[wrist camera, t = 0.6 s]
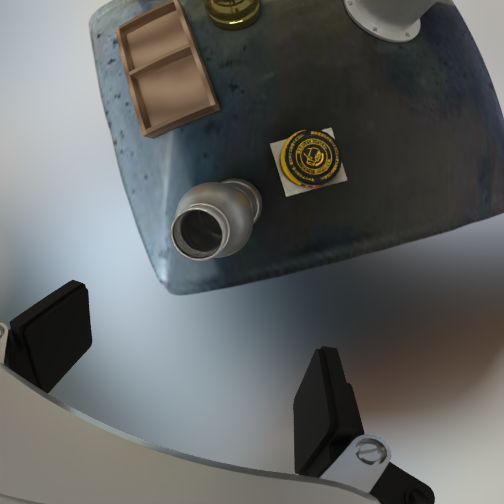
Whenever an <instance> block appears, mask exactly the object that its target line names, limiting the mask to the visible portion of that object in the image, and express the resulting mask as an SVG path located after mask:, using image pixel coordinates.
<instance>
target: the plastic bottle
mask: <svg viewBox="0 0 504 504" xmlns="http://www.w3.org/2000/svg"><path fill="white" fill-rule="evenodd" d="M262 206H263V205H262V198H261V195H260V193H259V191H258V190H257V189H256V187H255V186H253V185H252V184H251V183H249V182H248V181H245V180H243V179H237V178H234V179H227V180H224V181H222V182H220V183H218V182H207V183H203V184H199V185H197V186H195V187H193V188H191V189H190V190H189V191H188V192H186V194H185V195H184V196H183V197H182V199H181V200H180V202H179V204H178V207H177V210H176V214H175V219H174V221H173V223H172V226H171V239H172V242H173V244H174V246H175V248H176V249H177V250H178V252H179V253H181V254H182V255H183V256H185V257H186V258H188V259H191V260H196V261H203V260H208V259H210V258H219V257H225V256H229V255H231V254H233V253H235V252H237V251H238V250H240V249H241V248H242V247H243V246H244V245H245V244H246V242H247V241H248V239H249V238H250V235H251V232H252V229H253V224H254V223H255V222H256V221H257V220H258V218H259V217H260V215H261V212H262Z"/></svg>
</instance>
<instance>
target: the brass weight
mask: <svg viewBox="0 0 504 504" xmlns="http://www.w3.org/2000/svg"><path fill="white" fill-rule="evenodd" d="M204 6H205V9H206V10H207V12H208V15H209V17H210V18H211V20H212V22H213V23H214V24H215V25H216V26H218V27H220V28H222V29H227V30H238V29H242V28H245V27H248V26H250V25H251V24H253V23H254V22H255V21H256V20H257V19H258V17H259V15H260V1H259V0H204Z"/></svg>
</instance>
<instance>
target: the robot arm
mask: <svg viewBox="0 0 504 504" xmlns="http://www.w3.org/2000/svg"><path fill="white" fill-rule="evenodd" d="M437 1H438V0H344V6H345V9H346V11H347V13H348V15H349V16H350V17H351V19H352V20H353V21H354V22H355V23H356V24H357V25H358V26H359V27H360V28H362V29H363V30H364V31H366V32H367V33H369V34H371V35H373V36H375V37H377V38H379V39H381V40H385V41H388V42H394V43H403V42H408V41H410V40H412V39H413V38H414V37H416V35H417V34H418V33H419V30H420V24H421V23H420V17H421V16H422V15H423V14H424V13H425V12H426V11H427V10H428V9H429V8H430V7H432V6H433V5H434V4H435V3H436V2H437ZM10 326H11V329H10V330H8V328H7V326H6V325H5V324H3V323H0V504H434V502H435V497H434V493H433V491H432V489H431V488H430V487H429V486H428V485H426V484H425V483H423V482H421V481H420V480H418V479H416V478H415V477H413V476H411V475H410V474H408V473H406V472H405V471H403V470H402V469H400V468H399V467H397V466H395V465H394V464H392V463H391V462H389V461H390V459H391V450H390V448H389V446H388V445H387V443H386V442H385V441H384V440H382V439H381V438H379V437H376V436H374V435H365V434H364V430H363V426H362V422H361V418H360V414H359V410H358V407H357V403H356V399H355V396H354V392H353V388H352V386H351V384H350V383H347V382H346V379H345V375H344V372H343V368H342V365H341V361H340V357H339V353H338V350H337V349H336V348H331V347H325V346H322V347H321V349H316V350H315V352H314V354H313V357H312V359H311V362H310V364H309V366H308V369H307V371H306V373H305V376H304V378H303V381H302V383H301V385H300V387H299V389H298V391H297V394H296V396H295V399H294V404H293V410H294V454H295V455H294V457H295V473H297V474H299V475H294V474H287V473H279V472H272V471H264V470H258V469H252V468H246V467H240V466H236V465H231V464H226V463H221V462H216V461H212V460H208V459H204V458H200V457H196V456H192V455H189V454H185V453H181V452H178V451H175V450H172V449H169V448H165V447H162V446H159V445H157V444H154V443H151V442H148V441H145V440H142V439H140V438H137V437H135V436H132V435H129V434H127V433H124V432H122V431H120V430H117V429H115V428H113V427H110V426H108V425H106V424H104V423H102V422H99V421H97V420H95V419H93V418H91V417H89V416H87V415H85V414H83V413H81V412H79V411H77V410H75V409H74V408H72V407H70V406H68V405H66V404H64V403H62V402H61V401H59V400H57V399H56V398H54V397H52V396H51V395H49V394H47V393H49V392H50V391H51V390H52V389H53V387H54V386H55V385H56V384H57V383H58V382H59V381H60V380H61V378H62V377H63V376H64V375H65V374H66V373H67V372H68V371H69V370H70V369H71V367H72V366H73V365H74V364H75V363H76V362H77V361H78V360H79V359H80V358H81V356H83V354H84V353H85V352H86V351H87V350H88V349H89V348H90V347H91V344H92V334H91V324H90V313H89V297H88V290H87V288H86V286H85V284H83V283H81V282H78V281H75V280H72V281H70V282H68V283H66V284H65V285H63V286H62V287H60V288H59V289H57V290H56V291H54V292H52V293H51V294H49V295H48V296H46V297H45V298H43V299H42V300H40V301H39V302H37V303H36V304H34V305H33V306H32V307H30V308H29V309H27V310H26V311H24V312H23V313H21V314H20V315H19V316H17V317H16V318H14V319H13V320H12V321H10Z"/></svg>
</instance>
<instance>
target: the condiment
mask: <svg viewBox="0 0 504 504" xmlns="http://www.w3.org/2000/svg"><path fill="white" fill-rule="evenodd" d="M270 146H271V149H272V153H273V156H274V159H275V162H276V165H277V168H278V171H279V175H280V178H281V181H282V184H283V187H284V191H285V194H286V197H287V196H291V195H294V194H298V193H301V192H305V191H309V190H312V189H316V188H320V187H324V186H327V185H331V184H335V183H339V182H343V181H347V178H346V174H345V171H344V168H343V164H342V154H341V150H340V147H339V145H338V143H337V142H336V140H335V138H334V135H333V131H332V128H328V129H324V130H316V129H309V130H302V131H299V132H296V133H294V134H293V135H292V136H291V137H289V138H288V139H285V140H282V141H278V142H275V143H271V144H270Z"/></svg>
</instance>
